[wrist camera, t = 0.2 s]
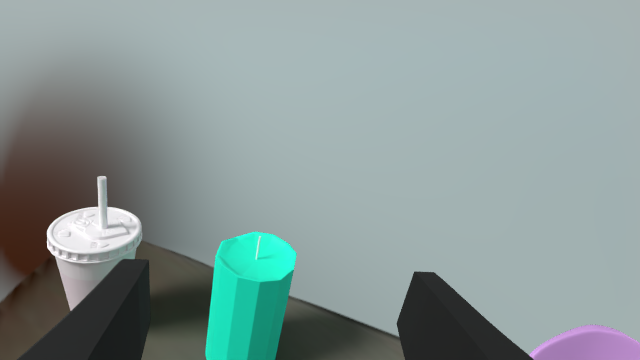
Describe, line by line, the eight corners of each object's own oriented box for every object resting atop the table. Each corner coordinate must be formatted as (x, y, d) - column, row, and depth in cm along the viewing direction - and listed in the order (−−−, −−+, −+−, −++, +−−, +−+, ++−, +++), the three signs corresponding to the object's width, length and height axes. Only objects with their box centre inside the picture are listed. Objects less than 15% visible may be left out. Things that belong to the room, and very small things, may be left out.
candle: (272, 326, 38) (294, 217, 33) (280, 382, 33) (306, 263, 28) (206, 326, 37) (218, 212, 32) (203, 386, 32) (217, 261, 27)
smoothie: (118, 359, 32) (114, 206, 26) (37, 343, 32) (16, 186, 26) (153, 303, 38) (157, 167, 32) (85, 290, 38) (76, 151, 32)
